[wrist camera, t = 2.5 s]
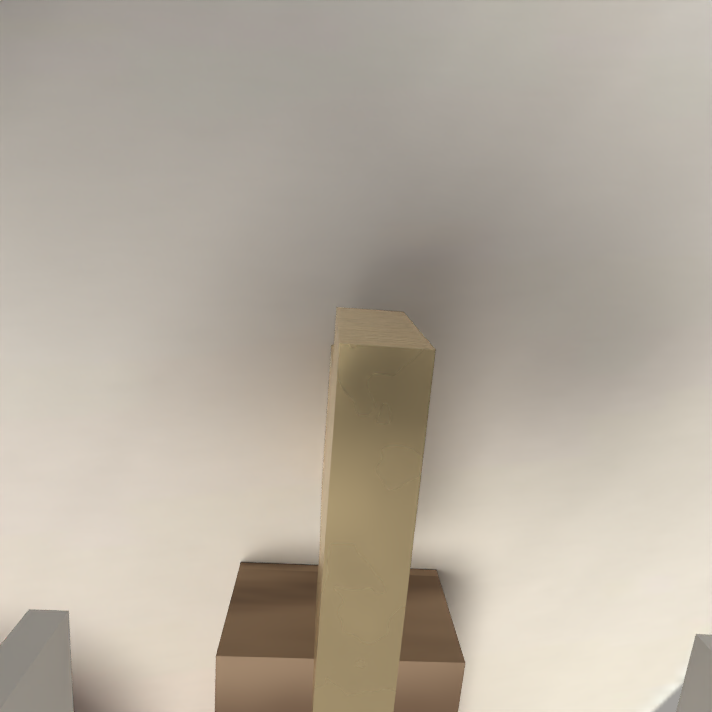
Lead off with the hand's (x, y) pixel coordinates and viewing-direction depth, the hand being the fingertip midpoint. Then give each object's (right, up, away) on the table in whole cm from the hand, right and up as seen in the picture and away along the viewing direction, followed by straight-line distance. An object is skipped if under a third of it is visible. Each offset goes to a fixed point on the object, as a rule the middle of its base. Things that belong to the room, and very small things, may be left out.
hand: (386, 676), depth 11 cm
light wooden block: (-1, +4, +14) cm, 15 cm away
